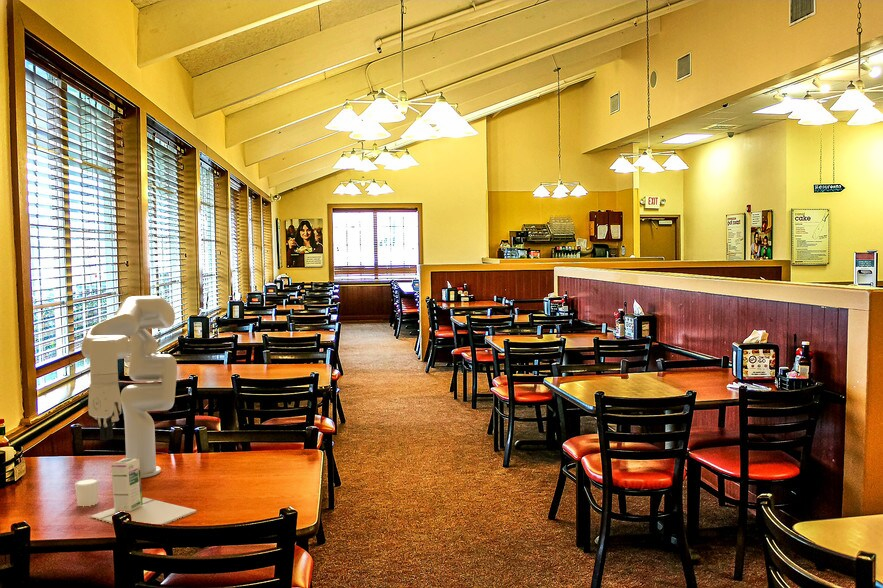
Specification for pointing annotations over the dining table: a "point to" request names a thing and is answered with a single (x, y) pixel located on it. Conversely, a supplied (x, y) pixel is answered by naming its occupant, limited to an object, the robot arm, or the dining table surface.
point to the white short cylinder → (87, 492)
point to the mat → (150, 512)
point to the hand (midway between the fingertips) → (106, 439)
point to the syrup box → (126, 484)
